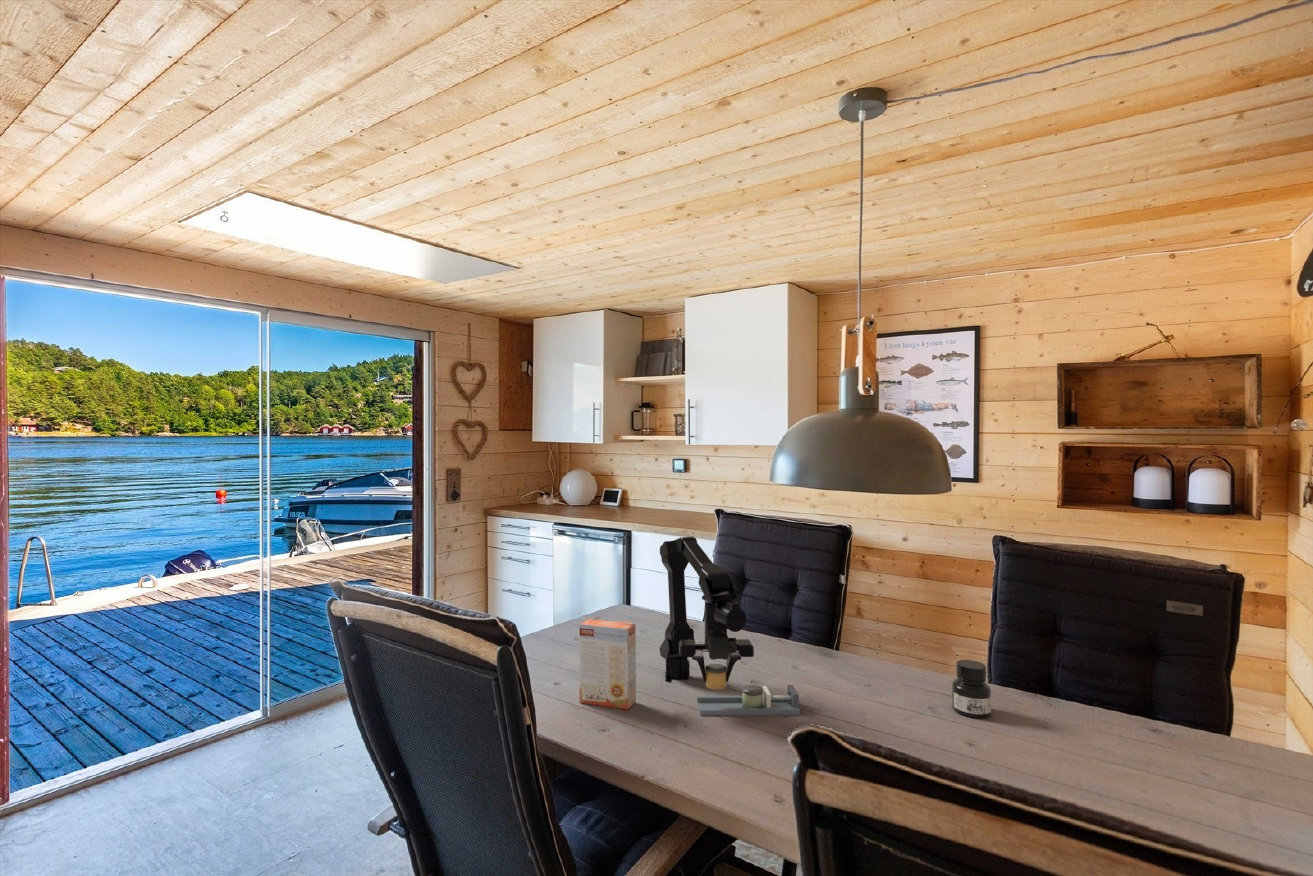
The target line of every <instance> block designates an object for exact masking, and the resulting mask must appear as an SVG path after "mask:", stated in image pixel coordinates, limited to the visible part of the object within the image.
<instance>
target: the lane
mask: <svg viewBox="0 0 1313 876" xmlns="http://www.w3.org/2000/svg"><path fill="white" fill-rule="evenodd" d="M786 690H787V691H786V692H787V694H782V695H781V694H780V695H779V694H777V695H775V694H774V695H773V694H771V696H787V695H792V700H771V708H765V706H764V703H763V708H743V707H742V695H696V702H697V707H698V712H699V716H783V715H784V716H791V715H792V716H794V715H796V716H798V715H799V716H800V715H801V709H800V700H799V695H800V694H799V693H798V691H797V690H796V688H795V686H794V685H793V684H787V688H786Z"/></svg>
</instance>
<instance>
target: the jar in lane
mask: <svg viewBox="0 0 1313 876" xmlns="http://www.w3.org/2000/svg"><path fill="white" fill-rule="evenodd" d="M741 692H742V695H741V696H742V707H743V708H763V688H762V687H761V686H760V685H753V684H748V685H743V686H742V688H741Z"/></svg>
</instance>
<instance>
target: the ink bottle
mask: <svg viewBox="0 0 1313 876" xmlns="http://www.w3.org/2000/svg"><path fill="white" fill-rule="evenodd" d="M955 663H956V670H955V671H956V677H957V678H955V679H954V680H953V681H952V684H951V690H952V691H951V700H952V701H951V702H952V703H951V706H952V709H953V710H954V712H956V713H958V714H959V715H962V716H964V717H965V716H966V717H969V718H975V719H986V718H988V717H990V716H991V715H992V689H991V687H990V686H989V685H988V684H987V666H986V664H984V663H983V662H980V661H977V660H973V659H972V660H971V659H960V660H957V661H956V662H955Z"/></svg>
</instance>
